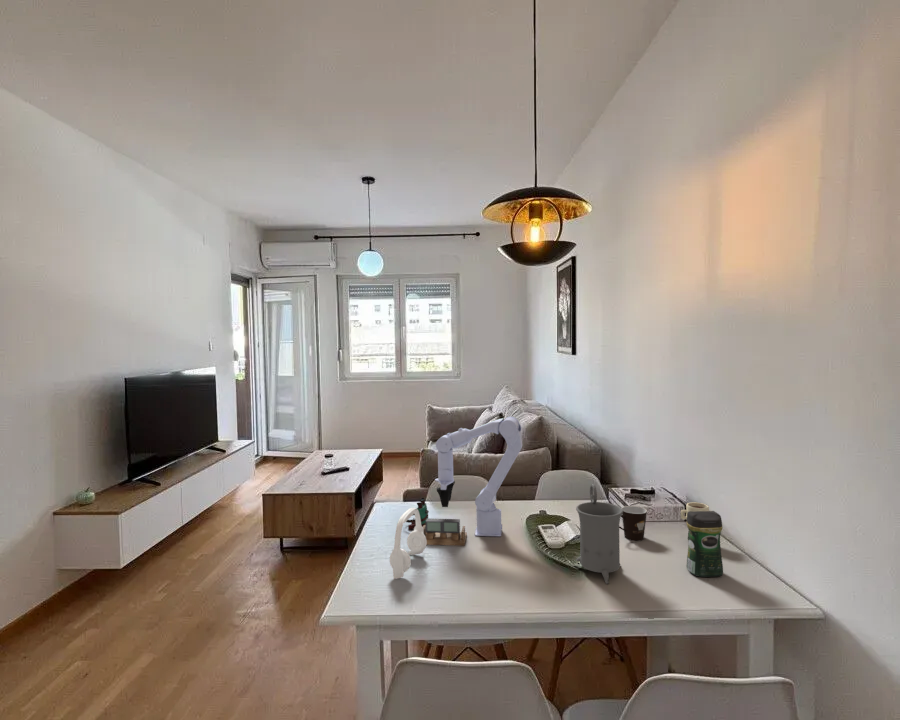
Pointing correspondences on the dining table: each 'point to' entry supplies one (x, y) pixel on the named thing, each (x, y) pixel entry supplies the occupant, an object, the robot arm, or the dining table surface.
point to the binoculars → (423, 514)
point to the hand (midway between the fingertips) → (446, 503)
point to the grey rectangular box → (443, 525)
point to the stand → (445, 538)
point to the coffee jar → (704, 543)
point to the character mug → (693, 509)
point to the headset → (414, 541)
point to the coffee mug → (634, 522)
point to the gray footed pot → (599, 535)
